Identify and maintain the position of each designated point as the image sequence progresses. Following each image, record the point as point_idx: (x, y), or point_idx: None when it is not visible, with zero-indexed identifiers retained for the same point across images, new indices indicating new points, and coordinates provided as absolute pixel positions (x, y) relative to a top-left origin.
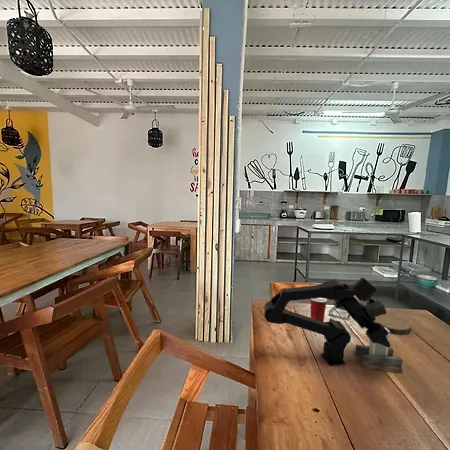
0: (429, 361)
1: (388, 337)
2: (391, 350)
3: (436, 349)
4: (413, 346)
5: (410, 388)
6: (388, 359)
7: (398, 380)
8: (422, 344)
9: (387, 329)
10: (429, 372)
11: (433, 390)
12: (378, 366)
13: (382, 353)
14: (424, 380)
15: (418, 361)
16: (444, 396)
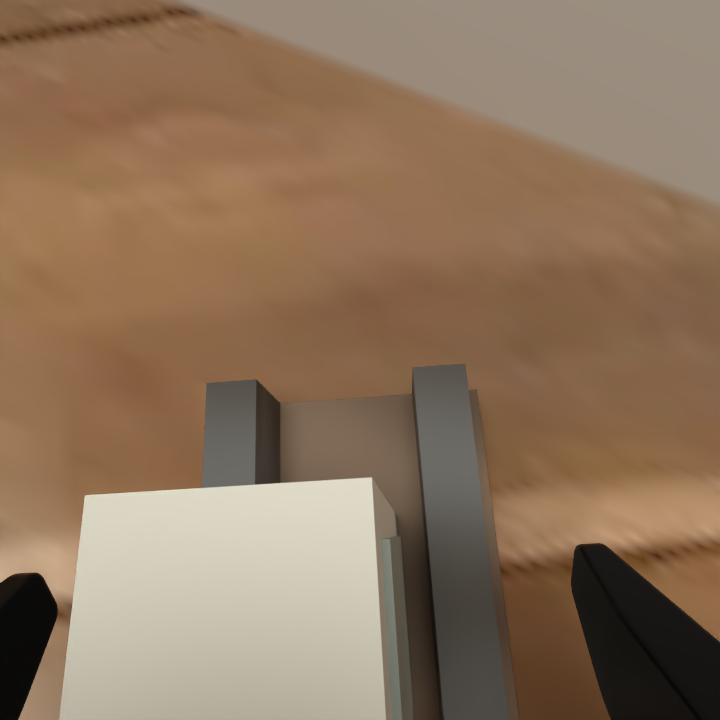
0: (250, 119)
1: (382, 509)
2: (259, 404)
3: (86, 15)
4: (46, 144)
5: (700, 425)
6: (484, 534)
7: (608, 487)
8: (19, 73)
9: (224, 491)
10: (404, 179)
11: (651, 250)
12: (503, 654)
13: (403, 585)
14: (530, 259)
15: (261, 194)
16: (701, 206)
